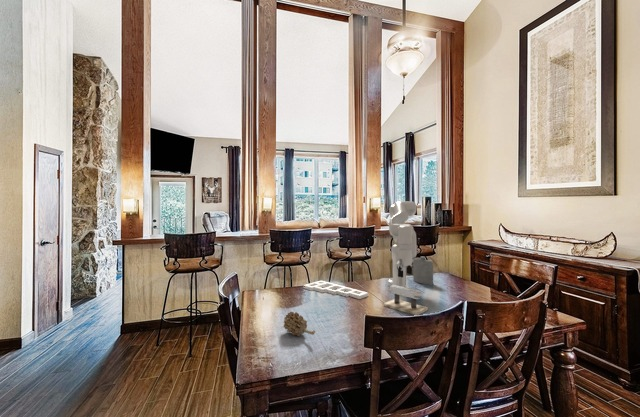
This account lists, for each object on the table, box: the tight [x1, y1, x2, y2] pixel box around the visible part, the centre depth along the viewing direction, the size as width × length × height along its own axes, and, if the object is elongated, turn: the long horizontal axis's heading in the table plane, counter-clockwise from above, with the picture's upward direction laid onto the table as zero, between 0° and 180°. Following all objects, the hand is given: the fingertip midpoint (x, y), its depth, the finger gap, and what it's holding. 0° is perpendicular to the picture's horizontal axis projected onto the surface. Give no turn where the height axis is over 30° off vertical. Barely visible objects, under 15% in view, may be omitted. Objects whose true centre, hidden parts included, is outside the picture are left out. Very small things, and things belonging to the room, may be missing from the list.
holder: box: [303, 280, 369, 300], centre depth 212 cm, size 45×18×3 cm, turn 44°
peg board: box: [383, 293, 429, 316], centre depth 179 cm, size 22×12×8 cm, turn 44°
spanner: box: [389, 285, 423, 300], centre depth 179 cm, size 20×4×4 cm, turn 44°
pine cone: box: [283, 311, 316, 337], centre depth 143 cm, size 22×10×10 cm, turn 47°
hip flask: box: [412, 256, 434, 286], centre depth 233 cm, size 16×4×20 cm, turn 43°
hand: (405, 275), depth 179 cm, fingers open, 9 cm apart
